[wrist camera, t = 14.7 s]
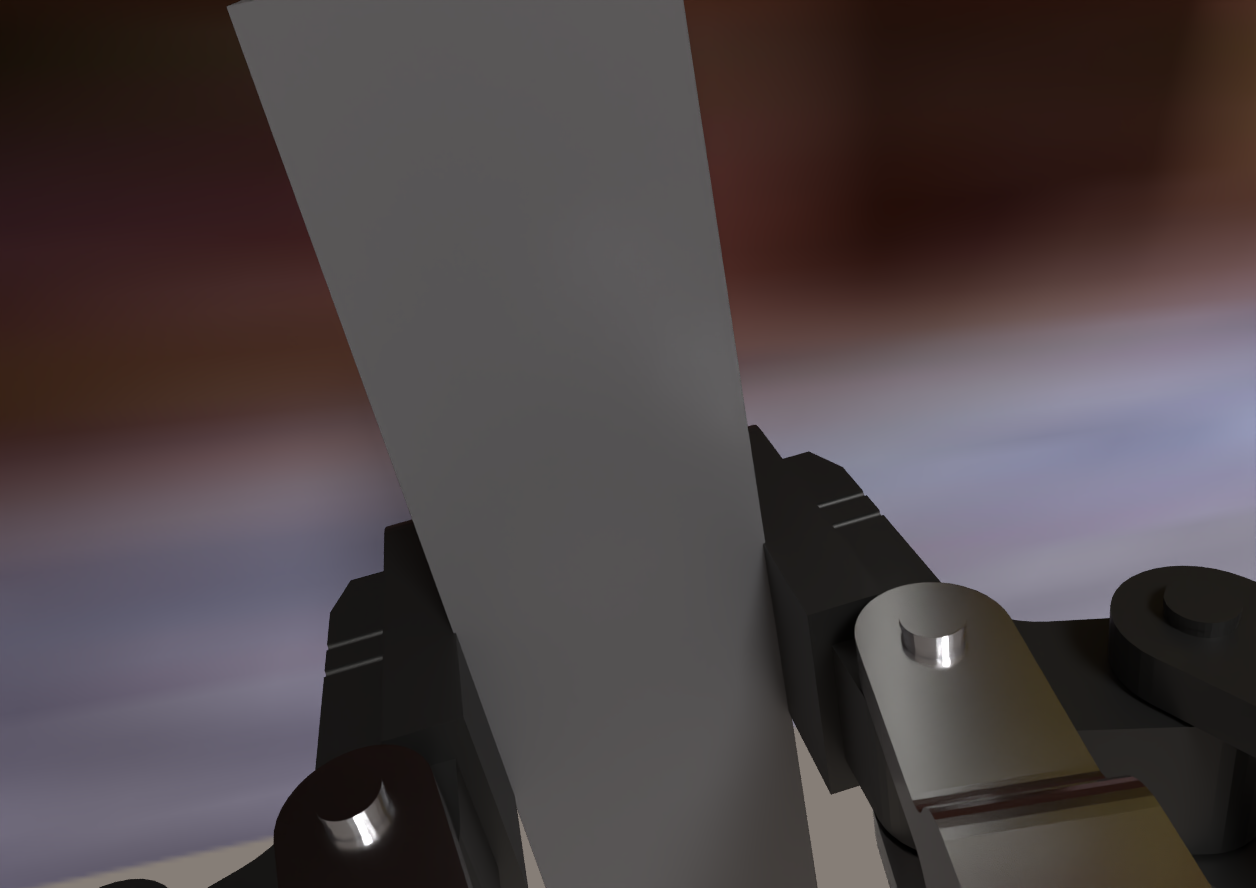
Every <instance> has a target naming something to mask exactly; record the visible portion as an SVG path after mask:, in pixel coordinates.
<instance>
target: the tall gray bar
mask: <svg viewBox="0 0 1256 888" xmlns="http://www.w3.org/2000/svg"><path fill="white" fill-rule="evenodd" d="M227 9H228V12H229V15H230V17H231V20H232V23H233V26H234V28H235V31H236V34H237V37H238V39H239V42H240V45H241V48H242V51H243V53H244V56H245V59H246V62H247V64H248V67H249V70H250V73H251V75H252V78H253V81H254V84H255V86H256V89H257V92H258V95H259V97H260V100H261V103H262V106H263V109H264V111H265V114H266V117H267V120H268V122H269V125H270V128H271V131H272V133H273V136H274V139H275V142H276V144H277V147H278V150H279V153H280V155H281V158H282V161H283V164H284V166H285V169H286V172H287V175H288V178H289V180H290V183H291V186H292V189H293V191H294V194H295V197H296V200H297V202H298V205H299V208H300V211H301V213H302V216H303V219H304V222H305V224H306V227H307V230H308V233H309V236H310V238H311V241H312V244H313V247H314V249H315V252H316V255H317V258H318V260H319V263H320V266H321V269H322V271H323V274H324V277H325V280H326V282H327V285H328V288H329V291H330V293H331V296H332V299H333V302H334V305H335V307H336V310H337V313H338V316H339V318H340V321H341V324H342V327H343V329H344V332H345V335H346V338H347V340H348V343H349V346H350V349H351V351H352V354H353V357H354V360H355V363H356V365H357V368H358V371H359V374H360V376H361V379H362V382H363V385H364V387H365V390H366V393H367V396H368V398H369V401H370V404H371V407H372V409H373V412H374V415H375V418H376V420H377V423H378V426H379V429H380V432H381V434H382V437H383V440H384V443H385V445H386V448H387V451H388V454H389V456H390V459H391V462H392V465H393V467H394V470H395V473H396V476H397V478H398V481H399V484H400V487H401V490H402V492H403V495H404V498H405V501H406V503H407V506H408V509H409V512H410V514H411V517H412V520H413V523H414V525H415V528H416V531H417V534H418V536H419V539H420V542H421V545H422V547H423V550H424V553H425V556H426V559H427V561H428V564H429V567H430V570H431V572H432V575H433V578H434V581H435V583H436V586H437V589H438V592H439V594H440V597H441V600H442V603H443V605H444V608H445V611H446V614H447V617H448V619H449V622H450V625H451V628H452V630H453V633H456V634H457V637H458V640H459V643H460V645H461V648H462V651H463V654H464V656H465V659H466V662H467V665H468V668H469V670H470V673H471V676H472V679H473V681H474V684H475V687H476V690H477V692H478V695H479V698H480V701H481V704H482V706H483V709H484V712H485V715H486V717H487V720H488V723H489V726H490V729H491V731H492V734H493V737H494V740H495V742H496V745H497V748H498V751H499V753H500V756H501V759H502V762H503V765H504V767H505V770H506V773H507V776H508V778H509V781H510V784H511V787H512V790H513V792H514V795H515V800H516V807H517V810H518V813H519V815H520V818H521V821H522V823H523V826H524V829H525V832H526V835H527V837H528V840H529V843H530V846H531V848H532V851H533V854H534V857H535V859H536V862H537V865H538V868H539V871H540V873H541V876H542V879H543V881H544V884H545V887H546V888H817V881H816V874H815V868H814V861H813V855H812V848H811V841H810V835H809V829H808V822H807V815H806V808H805V802H804V795H803V789H802V783H801V775H800V769H799V762H798V756H797V749H796V742H795V736H794V729H793V722H792V717H791V715H790V714H789V710H788V703H787V697H786V690H785V683H784V677H783V670H782V664H781V657H780V651H779V644H778V638H777V631H776V625H775V618H774V612H773V605H772V598H771V592H770V585H769V579H768V572H767V566H766V559H765V553H764V546H763V543H765V538H764V531H763V524H762V518H761V511H760V505H759V498H758V491H757V485H756V478H755V472H754V465H753V458H752V452H751V445H750V439H749V432H748V425H747V419H746V412H745V406H744V399H743V392H742V386H741V379H740V373H739V366H738V359H737V353H736V346H735V340H734V333H733V326H732V320H731V313H730V307H729V300H728V293H727V287H726V280H725V274H724V267H723V260H722V254H721V247H720V241H719V234H718V227H717V221H716V214H715V208H714V201H713V194H712V188H711V181H710V174H709V168H708V161H707V155H706V148H705V141H704V135H703V128H702V122H701V115H700V108H699V102H698V95H697V89H696V82H695V75H694V69H693V62H692V56H691V49H690V42H689V36H688V29H687V23H686V16H685V9H684V3H683V0H241V1H239V2H237V3H234V4H232V5H230V6H227Z"/></svg>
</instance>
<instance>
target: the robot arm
mask: <svg viewBox="0 0 1256 888" xmlns="http://www.w3.org/2000/svg"><path fill="white" fill-rule="evenodd" d="M748 432H749V439H750V445H751V452H752V458H753V465H754V472H755V478H756V485H757V491H758V498H759V505H760V511H761V518H762V524H763V531H764V538H765V543H763V546H764V553H765V559H766V566H767V572H768V579H769V585H770V592H771V598H772V605H773V612H774V618H775V625H776V631H777V638H778V644H779V651H780V657H781V664H782V670H783V677H784V683H785V690H786V697H787V703H788V710H789V714H790V715H791V717H792V719H793V721H794V723H795V725H796V727H797V729H798V731H799V733H800V735H801V737H802V739H803V741H804V743H805V745H806V747H807V748H808V751H809V753H810V754H811V756H812V758H813V760H814V762H815V764H816V766H817V768H818V770H819V772H820V774H821V776H822V778H823V779H824V782H825V784H826V786H827V788H828V790H829V791H830V794H834V793H837V792H841V791H844V790H847V789H850V788H853V787H856V786H860V787H861V789H862V790H863V792H864V794H865V796H866V798H867V799H868V801H869V803H870V805H871V807H872V809H873V817H874V827H875V836H876V841H877V846H878V849H879V853H880V856H881V859H882V863H883V866H884V869H885V873H886V876H887V879H888V883H889V885H890V888H1256V582H1255V581H1252V580H1250V579H1247V578H1245V577H1242V576H1239V575H1236V574H1233V573H1230V572H1226V571H1222V570H1217V569H1212V568H1205V567H1198V566H1169V567H1162V568H1156V569H1152V570H1148V571H1145V572H1142V573H1139V574H1137V575H1135V576H1133V577H1131V578H1129V579H1128V580H1126V581H1125V582H1123V583H1122V584H1121V585H1120V587H1119V588H1118V589H1117V590H1116V591H1115V593H1114V595H1113V597H1112V601H1111V605H1110V618H1105V619H1087V620H1069V621H1051V622H1029V621H1017V620H1012V619H1011V618H1010V616H1009V615H1008V614H1007V612H1006V611H1005V609H1003V608H1002V607H1001V606H1000V605H999V604H998V603H997V602H996V601H994V600H993V599H991V598H990V597H988V596H987V595H984V594H982V593H980V592H978V591H976V590H973V589H970V588H967V587H964V586H960V585H955V584H950V583H941V582H940V581H939V579H938V578H937V577H936V576H935V575H934V574H933V572H932V571H931V570H930V569H929V568H928V567H927V565H926V564H925V563H924V562H923V561H922V560H921V558H920V557H919V556H918V555H917V554H916V553H915V551H914V550H913V549H912V548H911V547H910V546H909V544H908V543H907V542H906V541H905V540H904V538H903V537H902V536H901V535H900V534H899V533H898V531H897V530H896V529H895V528H894V527H893V526H892V524H891V523H890V522H889V521H888V520H887V519H886V517H885V516H884V515H882V516H881V515H880V511H879V509H878V508H877V507H876V506H875V504H874V503H873V502H872V501H871V500H870V499H869V497H868V496H867V495H866V496H864V494H863V490H862V489H861V488H860V487H859V486H858V485H857V483H856V482H855V481H854V480H853V479H852V478H851V476H850V475H849V474H848V473H847V472H846V470H845V469H844V468H843V467H841V466H839V465H837V464H835V463H833V462H830V461H828V460H826V459H824V458H822V457H820V456H817V455H815V454H813V453H811V452H805V453H802V454H798V455H795V456H791V457H788V458H784V459H782V457H781V456H780V455H779V453H778V452H777V451H776V449H775V448H774V447H773V445H772V444H771V443H770V441H769V440H768V439H767V437H766V436H765V435H764V433H763V432H762V431H761V429H760V428H759V427H758V426H757V425H751V426H748ZM327 645H328V649H329V650H327V652H326V662H325V673H326V677H324V684H323V694H322V705H321V716H320V726H319V737H318V748H317V758H316V769H315V771H314V772H313V773H311V774H310V775H309V776H308V777H307V778H305V779H304V780H303V781H302V782H301V783H300V784H299V785H298V786H297V787H296V789H295V790H294V791H293V792H292V794H291V795H290V796H289V797H288V799H287V801H286V802H285V804H284V805H283V807H282V809H281V811H280V813H279V816H278V818H277V820H276V825H275V829H274V844H273V845H272V846H271V847H270V848H269V849H268V850H267V851H265V852H264V853H263V854H262V855H260V856H259V857H258V858H256V859H255V860H253V861H252V862H250V863H249V864H247V865H245V866H244V867H243V868H241V869H239V870H237V871H236V872H234V873H232V874H231V875H229V876H227V877H225V878H223V879H222V880H220V881H218V882H217V883H215V884H213V885H211V886H210V887H208V888H528V884H527V877H526V870H525V863H524V857H523V849H522V842H521V835H520V828H519V821H518V814H517V807H516V800H515V795H514V792H513V790H512V787H511V784H510V781H509V778H508V776H507V773H506V770H505V767H504V765H503V762H502V759H501V756H500V753H499V751H498V748H497V745H496V742H495V740H494V737H493V734H492V731H491V729H490V726H489V723H488V720H487V717H486V715H485V712H484V709H483V706H482V704H481V701H480V698H479V695H478V692H477V690H476V687H475V684H474V681H473V679H472V676H471V673H470V670H469V668H468V665H467V662H466V659H465V656H464V654H463V651H462V648H461V645H460V643H459V640H458V637H457V634H456V633H453V630H452V628H451V625H450V622H449V619H448V617H447V614H446V611H445V608H444V605H443V603H442V600H441V597H440V594H439V592H438V589H437V586H436V583H435V581H434V578H433V575H432V572H431V570H430V567H429V564H428V561H427V559H426V556H425V553H424V550H423V547H422V545H421V542H420V539H419V536H418V534H417V531H416V528H415V525H414V523H413V520H409V521H405V522H401V523H398V524H394V525H391V526H387V527H386V528H385V532H384V571H383V572H379V573H376V574H372V575H369V576H365V577H361V578H358V579H354V580H351V581H350V582H349V584H348V586H347V587H346V589H345V590H344V592H343V593H342V595H341V597H340V598H339V600H338V601H337V603H336V604H335V606H334V608H333V609H332V611H331V612H330V620H329V630H328V641H327ZM100 888H167V887H166V886H165V885H163V884H160V883H158V882H156V881H152V880H146V879H130V880H124V881H119V882H114V883H112V884H108V885H105V886H102V887H100Z"/></svg>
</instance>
